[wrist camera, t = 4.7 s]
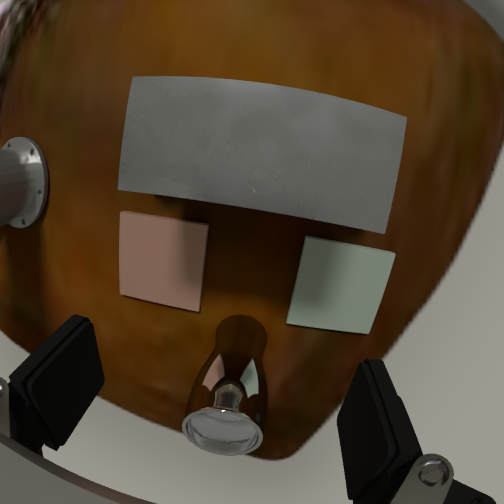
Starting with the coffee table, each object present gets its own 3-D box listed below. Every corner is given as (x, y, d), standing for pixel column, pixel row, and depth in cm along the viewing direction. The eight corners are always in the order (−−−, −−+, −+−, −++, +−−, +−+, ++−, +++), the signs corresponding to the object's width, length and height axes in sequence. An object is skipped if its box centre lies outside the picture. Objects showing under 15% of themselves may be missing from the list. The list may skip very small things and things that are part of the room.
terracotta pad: (209, 224, 31) (207, 225, 30) (200, 308, 34) (198, 311, 33) (123, 210, 31) (120, 212, 30) (122, 291, 34) (120, 293, 34)
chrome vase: (208, 311, 34) (170, 404, 20) (269, 310, 33) (263, 409, 19) (216, 358, 36) (188, 453, 22) (271, 358, 35) (267, 458, 21)
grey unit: (381, 126, 26) (450, 110, 13) (363, 220, 29) (419, 265, 17) (167, 92, 27) (97, 58, 14) (154, 185, 30) (79, 208, 17)
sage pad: (392, 252, 30) (395, 254, 29) (367, 330, 33) (368, 334, 33) (305, 235, 30) (306, 237, 30) (286, 319, 34) (286, 323, 33)
